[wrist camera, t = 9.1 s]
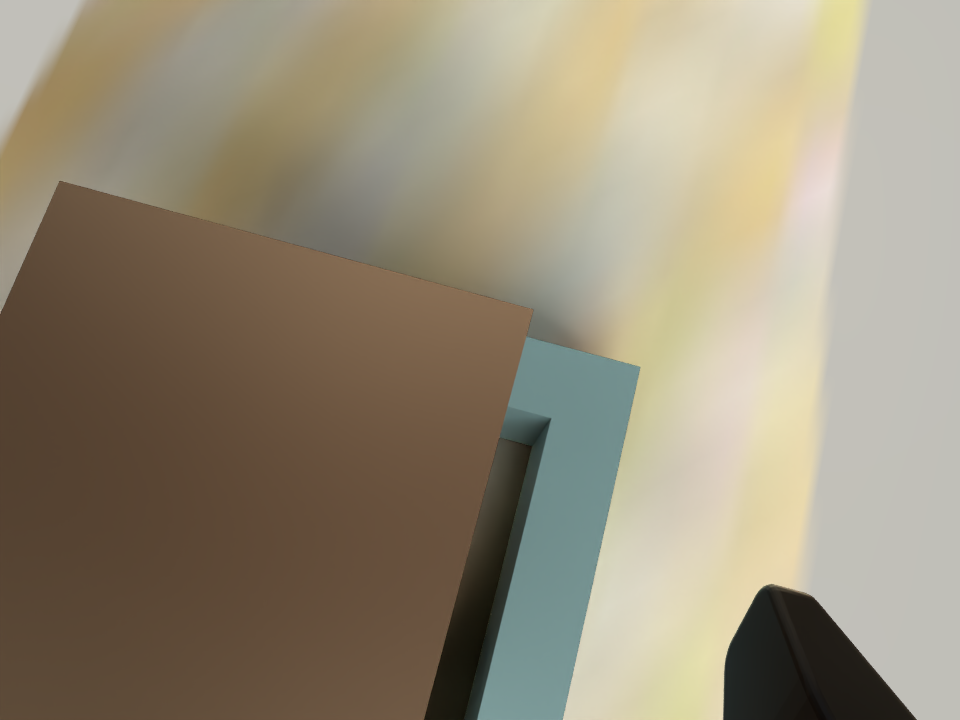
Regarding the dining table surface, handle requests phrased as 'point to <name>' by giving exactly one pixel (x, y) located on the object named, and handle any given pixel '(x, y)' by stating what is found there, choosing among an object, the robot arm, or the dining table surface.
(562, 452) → the square teal collar
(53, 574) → the square wooden post
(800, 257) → the dining table surface
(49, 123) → the dining table surface
